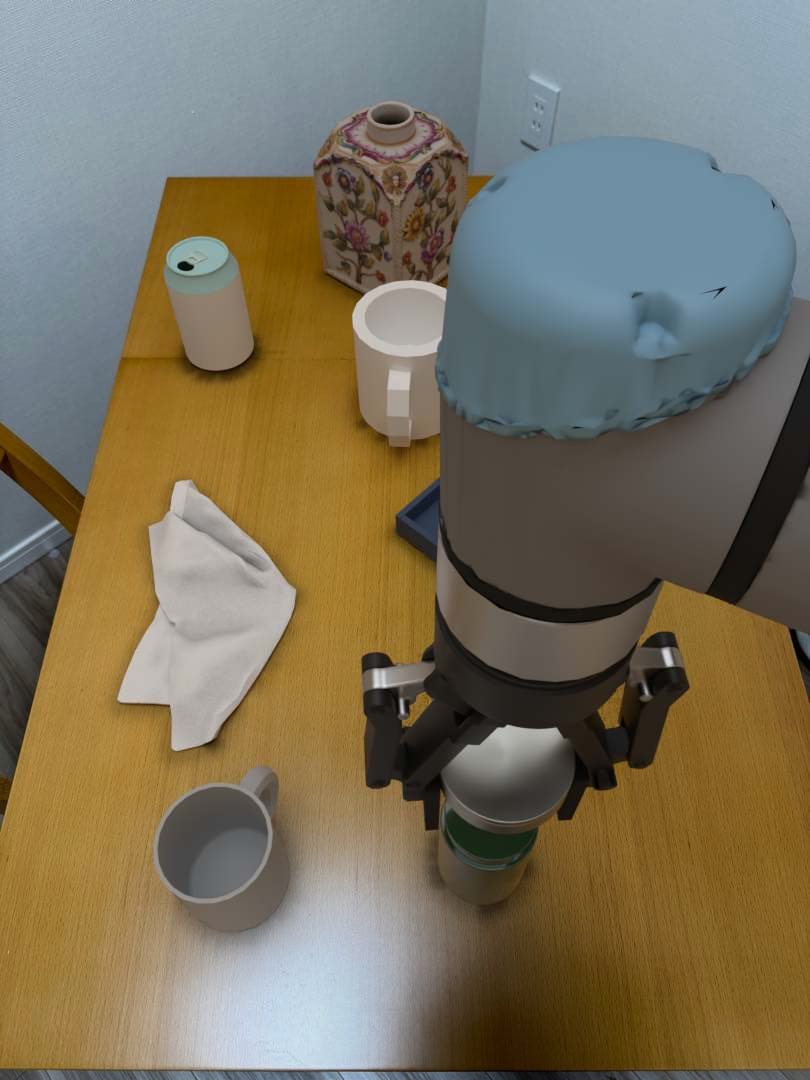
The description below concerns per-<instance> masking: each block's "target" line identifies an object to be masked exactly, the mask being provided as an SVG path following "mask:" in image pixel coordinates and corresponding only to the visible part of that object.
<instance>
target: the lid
mask: <svg viewBox="0 0 810 1080" xmlns="http://www.w3.org/2000/svg"><path fill="white" fill-rule="evenodd" d="M575 767H576V755H575V749H574V747H573V745H572V744H571V742H570V741H569V739H568V738H567V739H563V737H562V735H561V734H560V732H559V731H558V729H557V728H549V729H527V728H519V727H515V726H510V725H507V726H506V727H504V728H497V729H496V730H495V731H494V732H493V733H492V734H491V735H490V736H489V737H488V738H487V739H486V740H484V741H483V742H482V743H481V744H480V745H467V746H466V747H465V748H464V749H463V750H462V751H461V752H460V753H459V754H458V755H457V756H456V757H455V758H454V759H453V760H452V761H451V762H450V763H449V764H448V765H447V766H446V767H445V768H444V769H443V770H442V771H441V772H440V773H439V774H438V776H439V779H440V790H441V794H442V795H443V797H444V800H445V799H446V800H447V802H448V803H449V805H450V806H451V807H452V808H453V810H454V811H455V812H456V813H457V814H458V815H459V816H460V817H461V818H463V819H464V820H466V821H467V822H468V823H470V824H472V825H474V826H475V827H477V828H480V829H482V830H485V831H489V832H493V833H498V834H517V833H523V832H526V831H529V830H532V829H534V828H537V827H538V828H539V827H540V826H542V825H544V824H545V823H547V822H549V820H550V819H552V818H553V817H554V816H555V815H556V814H557V811H558V810H559V808H560V807H561V805H562V804H563V802H564V800H565V798H566V796H567V793H568V791H569V789H570V786H571V784H572V781H573V777H574V774H575Z"/></svg>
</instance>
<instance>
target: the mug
mask: <svg viewBox="0 0 810 1080" xmlns="http://www.w3.org/2000/svg"><path fill="white" fill-rule="evenodd" d="M446 292H447V288H445V287H444V286H443V287H442V286H440V285H438V284H432V283H429V282H422V281H415V280H408V281H395V282H392V283H388V284H384V285H381V286H379V287H377V288H375V289H373V290H371V291H370V292H368V293H366V294H365V295H364V294H363V296H362V297H361V298H360V299H359V300H358V301H357V303H356V305H355V307H354V309H353V312H352V314H351V316H352V317H351V319H352V330H353V344H354V354H355V355H354V356H355V367H356V368H355V369H356V380H357V389H358V390H357V393H358V405H359V412H360V414H361V416H362V418H363V420H364V422H365V423H366V424H368V426H370V427H371V428H372V429H373V430H374V431H375V432H377V433H380V434H382V435H383V436H386V437H387V439H388V446H389V447H399V448H401V447H402V448H410V447H411V441H412V440H424V439H426V438H430V437H433V436H435V435H440V392H439V391H438V383H437V380H436V378H435V364H436V363H437V362H436V359H437V353H438V351H437V347H438V344H439V342H440V340H441V339H442V331H443V322H444V312H445V302H446Z"/></svg>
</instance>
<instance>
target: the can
mask: <svg viewBox="0 0 810 1080" xmlns="http://www.w3.org/2000/svg"><path fill="white" fill-rule="evenodd" d="M165 261H166V263H165V266H164V268H163V279H164V283H165V286H166V290H167V293H168V296H169V297H168V298H169V300H170V304H171V307H172V311H173V314H174V318H175V321H176V324H177V328H178V330H179V334H180V337H181V341H182V345H183V348H184V351H185V354H186V357H187V359H188V360H189V362H190V363H192V364H193V365H194V366H195V367H197V368H200V369H203V370H207V371H226V370H229V369H233V368H235V367H237V366H239V365H241V364H242V363H244V362H245V361H246V360H247V359H249V357H250V356H251V354H252V353H253V351H254V347H255V340H254V335H253V331H252V326H251V321H250V315H249V311H248V306H247V301H246V296H245V292H244V291H245V290H244V286H243V282H242V276H241V272H240V268H239V267H240V266H239V263H238V262H239V261H238V260H237V258H236V257H235V256H234V254H232V253H231V252H230V251H229V248H228V246H227V245H226V244H225V242H223V241H222V240H219V239H218V238H214V237H210V236H204V235H203V236H202V235H201V236H200V235H199V236H193V237H188V238H185V239H182V240H181V241H178V242H176V243H175V244H174V245H173V246H172V247H171V248H170V249H169V250H168V252H167V254H166V257H165Z"/></svg>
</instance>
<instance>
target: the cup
mask: <svg viewBox="0 0 810 1080" xmlns="http://www.w3.org/2000/svg"><path fill="white" fill-rule="evenodd" d="M279 781H280V780H279V777H278V774H277V773H276V772H275V771H274V770H273V769H272V768H271V767H270V766H269V765H256V766H252V767H251V768H250V769H249V770H248V771H247V772H246V773H245V774H244V775H243V777H242V778H241V780H240V781H239V783H238V784H235V783H230V782H211V783H207V784H203V785H198V786H196V787H194V788H193V789H191V790H189V791H187V792H185V793H183V794H181V796H180V797H178V799H176V800H175V801H174V802H173V803H172V804H171V805H170V806H169V808H168V809H167V810H166V812H165V813H164V815H162V817H161V819H160V821H159V824H158V826H157V828H156V831H155V835H154V840H153V846H152V854H153V863H154V864H153V865H154V867H155V870H156V872H157V875H158V877H159V879H160V881H162V883H163V884H164V886H165V887H166V888H167V889H168V891H169V892H170V893H171V894H172V895H173V896H174V897H175V898H176V899H177V900H178V901H179V902H180V903H181V904H182V905H183V906H184V908H186V909H187V910H188V911H189V912H190V913H191V914H192V915H193V916H194V917H195V919H197V920H199V922H202V923H203V924H204V925H206V926H207V927H209V928H211V929H213V930H217V931H220V932H224V933H239V932H243V931H247V930H250V929H253V928H254V927H256V926H258V925H259V924H262V923H263V922H265V921H266V920H267V919H269V917H270V916H271V915H272V914H273V913H274V912H275V911H276V910H277V908H278V907H279V905H280V903H281V902H282V900H283V899H284V897H285V895H286V891H287V888H288V884H289V877H290V867H289V861H288V856H287V851H286V849H285V847H284V845H283V843H282V840H281V838H280V836H279V834H278V832H277V829H276V827H275V825H274V823H273V821H272V819H273V817H274V815H275V812H276V809H277V805H278V801H279V794H280V782H279Z"/></svg>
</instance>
